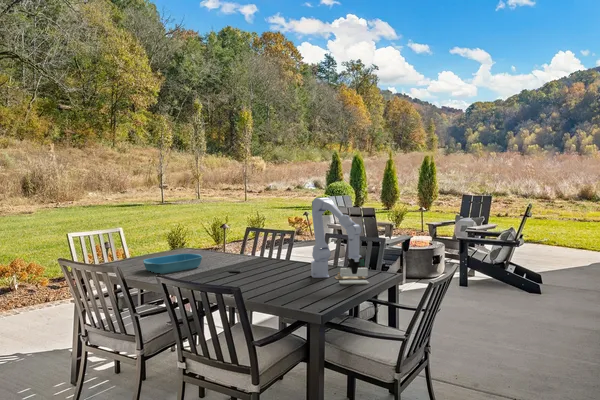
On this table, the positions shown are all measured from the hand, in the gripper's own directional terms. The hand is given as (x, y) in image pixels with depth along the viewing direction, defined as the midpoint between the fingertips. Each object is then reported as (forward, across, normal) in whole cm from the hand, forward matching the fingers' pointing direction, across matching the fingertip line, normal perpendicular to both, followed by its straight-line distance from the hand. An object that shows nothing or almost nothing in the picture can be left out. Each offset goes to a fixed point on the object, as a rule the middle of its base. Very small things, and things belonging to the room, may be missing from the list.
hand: (353, 273), depth 227 cm
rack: (+5, +10, 0) cm, 11 cm away
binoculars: (+5, +23, -6) cm, 24 cm away
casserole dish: (+5, +43, +102) cm, 111 cm away
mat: (+5, 0, 0) cm, 5 cm away
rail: (+1, 0, 0) cm, 1 cm away
